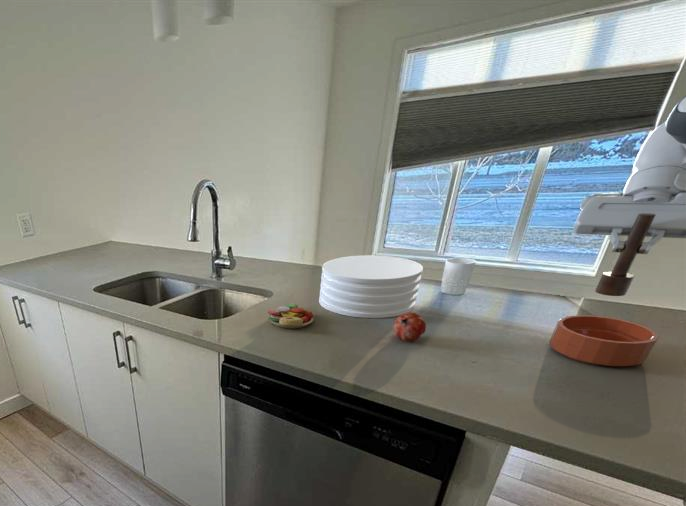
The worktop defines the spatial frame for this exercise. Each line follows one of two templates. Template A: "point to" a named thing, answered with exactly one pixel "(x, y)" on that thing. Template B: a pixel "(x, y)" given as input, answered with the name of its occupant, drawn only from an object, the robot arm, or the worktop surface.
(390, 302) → the plate stack
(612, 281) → the muddler
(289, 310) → the toy food set
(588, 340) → the bowl
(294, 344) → the worktop surface
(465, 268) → the white cup
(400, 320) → the pomegranate
